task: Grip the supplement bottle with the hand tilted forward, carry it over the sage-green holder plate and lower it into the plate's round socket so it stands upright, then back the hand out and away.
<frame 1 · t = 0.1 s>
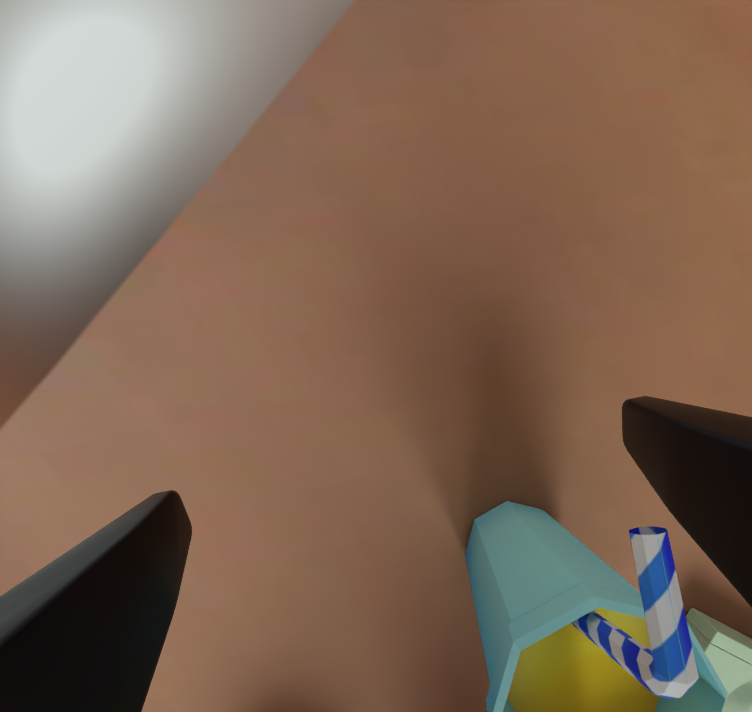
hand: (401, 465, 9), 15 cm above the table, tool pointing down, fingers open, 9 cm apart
cup: (509, 529, 25), on the table
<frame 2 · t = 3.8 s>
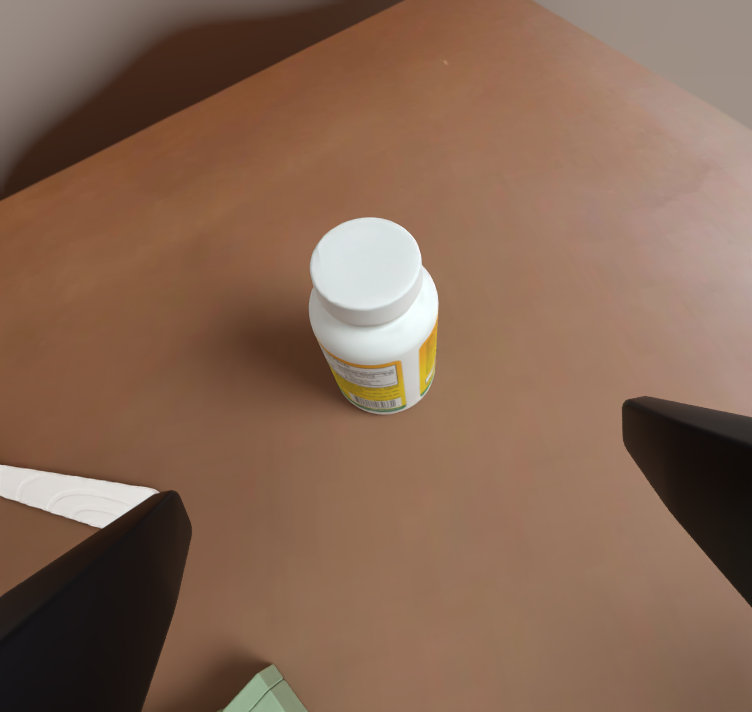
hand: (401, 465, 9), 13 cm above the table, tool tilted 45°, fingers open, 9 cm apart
spoon: (15, 482, 24), on the table
supplement bottle: (386, 370, 25), on the table
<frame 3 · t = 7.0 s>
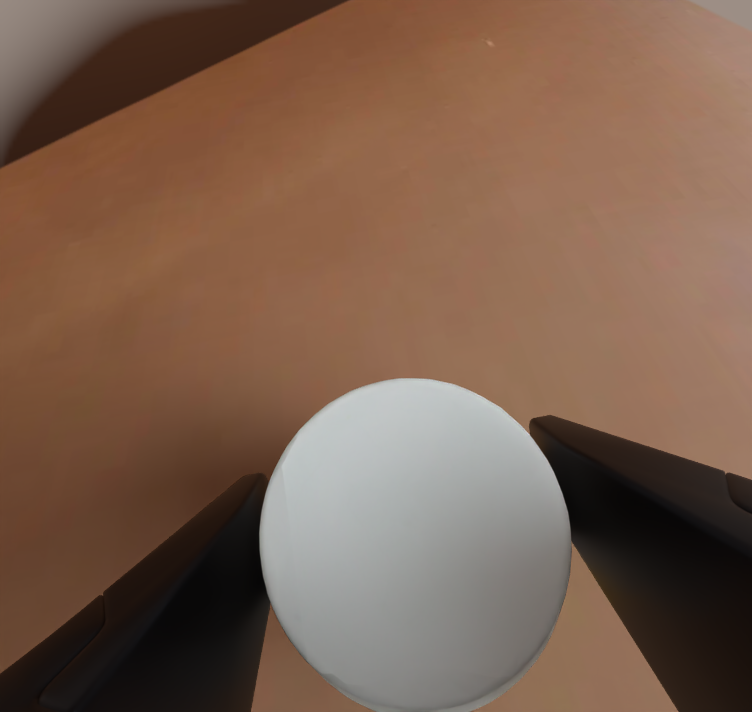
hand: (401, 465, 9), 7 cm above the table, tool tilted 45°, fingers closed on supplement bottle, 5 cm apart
supplement bottle: (420, 553, 15), on the table, touching gripper
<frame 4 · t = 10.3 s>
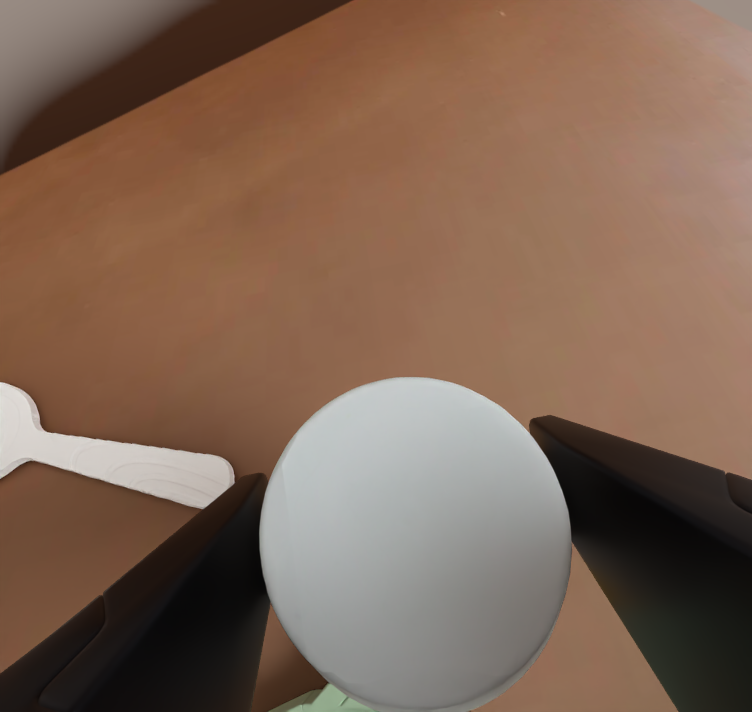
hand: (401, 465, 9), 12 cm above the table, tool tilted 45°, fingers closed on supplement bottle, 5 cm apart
spoon: (66, 451, 22), on the table
supplement bottle: (420, 552, 15), point 5 cm above the table, touching gripper
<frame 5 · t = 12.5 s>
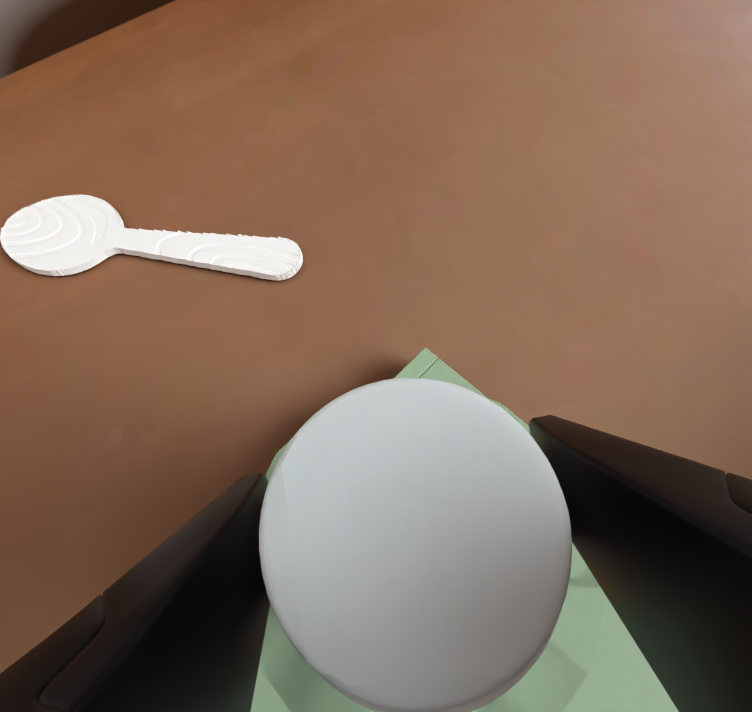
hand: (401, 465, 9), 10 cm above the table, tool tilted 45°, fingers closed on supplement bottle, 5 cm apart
spoon: (149, 247, 25), on the table
supplement bottle: (420, 553, 15), point 3 cm above the table, touching gripper
holder plate: (459, 638, 16), on the table
when the fingers open (7 cm above the table, at t = 14.0 s): supplement bottle stays where it is, resting in holder plate.
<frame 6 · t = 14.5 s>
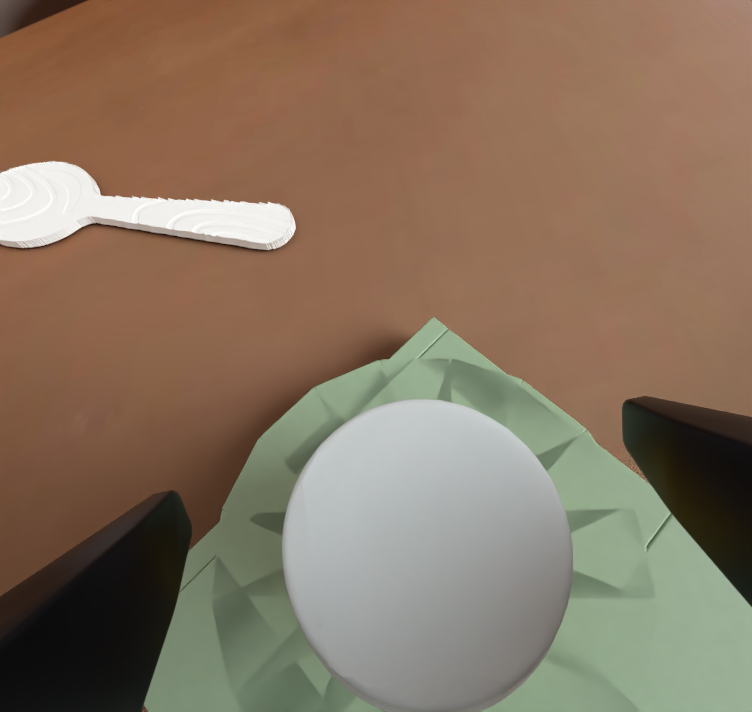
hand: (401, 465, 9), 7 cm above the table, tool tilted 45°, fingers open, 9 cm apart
spoon: (127, 217, 23), on the table
supplement bottle: (425, 558, 15), resting in holder plate
holder plate: (474, 659, 14), on the table
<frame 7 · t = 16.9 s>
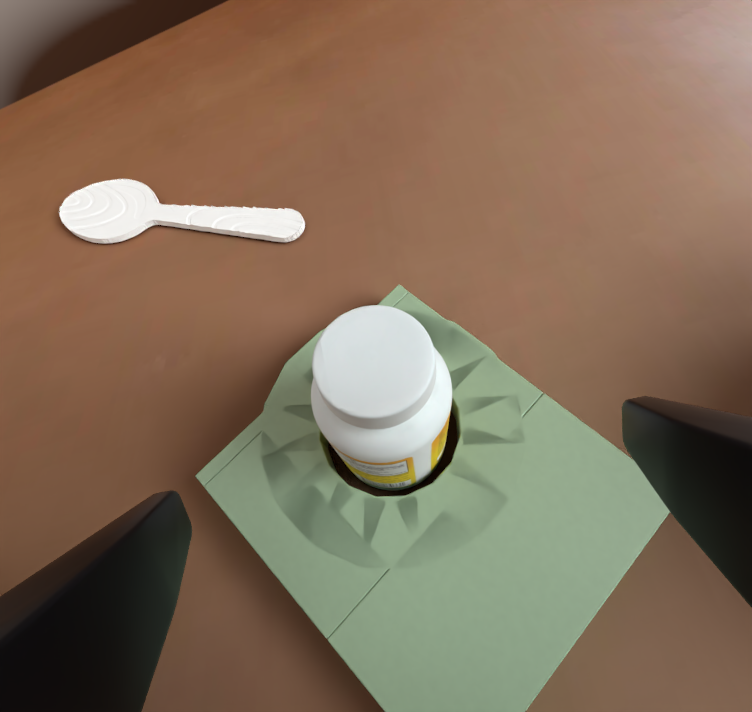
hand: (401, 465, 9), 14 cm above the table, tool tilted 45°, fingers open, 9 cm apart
spoon: (180, 219, 31), on the table
supplement bottle: (393, 438, 23), resting in holder plate
holder plate: (422, 492, 22), on the table
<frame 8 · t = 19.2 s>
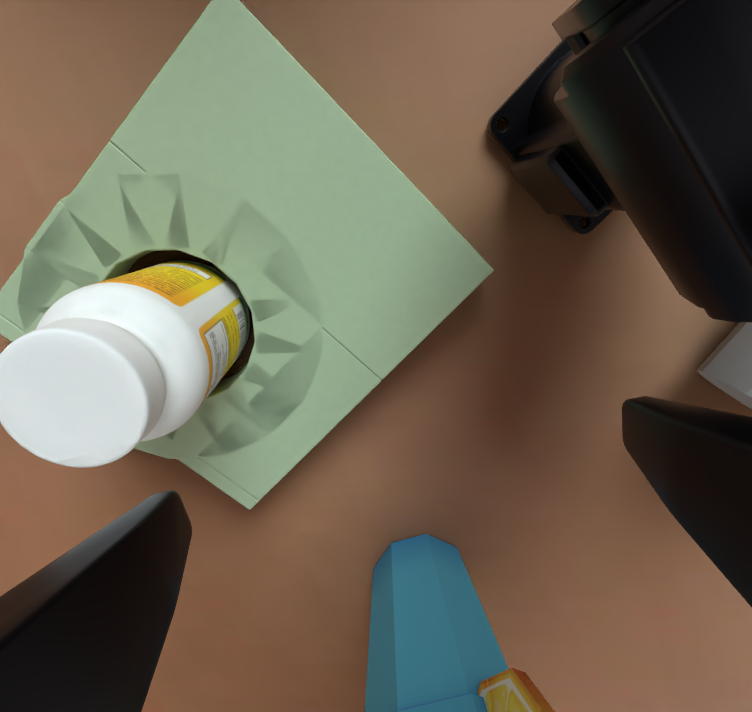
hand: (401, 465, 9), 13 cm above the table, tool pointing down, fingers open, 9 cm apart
supplement bottle: (194, 315, 21), resting in holder plate
cup: (416, 580, 27), on the table
holder plate: (249, 285, 21), on the table
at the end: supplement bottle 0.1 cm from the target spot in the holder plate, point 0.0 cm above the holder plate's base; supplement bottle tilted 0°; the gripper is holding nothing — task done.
